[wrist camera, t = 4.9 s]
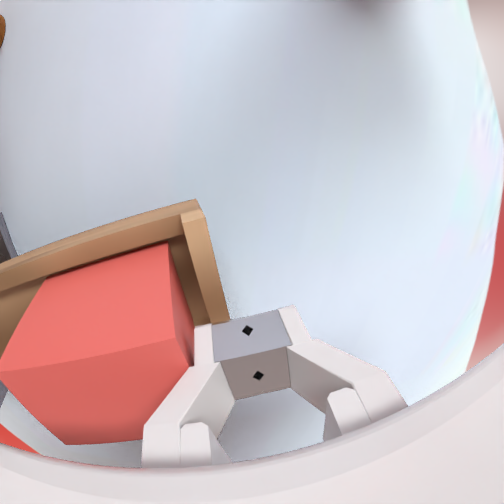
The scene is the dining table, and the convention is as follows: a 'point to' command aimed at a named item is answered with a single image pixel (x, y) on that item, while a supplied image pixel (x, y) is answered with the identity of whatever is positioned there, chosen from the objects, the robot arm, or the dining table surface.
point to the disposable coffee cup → (2, 29)
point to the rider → (102, 347)
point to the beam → (114, 243)
